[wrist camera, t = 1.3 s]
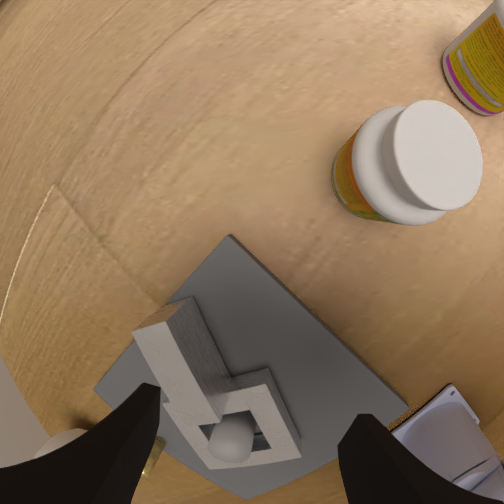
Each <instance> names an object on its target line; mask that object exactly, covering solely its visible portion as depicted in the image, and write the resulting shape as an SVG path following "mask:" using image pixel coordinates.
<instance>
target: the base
mask: <svg viewBox="0 0 504 504" xmlns="http://www.w3.org/2000/svg"><path fill="white" fill-rule="evenodd" d="M191 296H193V298H194V300H195V302H196V305H197V307H198V309H199V311H200V314H201V316H202V318H203V320H204V322H205V324H206V327H207V329H208V331H209V333H210V335H211V337H212V339H213V342H214V344H215V346H216V348H217V350H218V352H219V354H220V356H221V358H222V360H223V362H224V364H225V366H226V368H227V370H228V372H229V374H230V376H231V377H234V376H238V375H242V374H246V373H250V372H254V371H258V370H262V369H265V368H268V369H269V371H270V373H271V375H272V378H273V380H274V382H275V384H276V386H277V389H278V391H279V393H280V395H281V397H282V400H283V402H284V404H285V406H286V408H287V410H288V413H289V415H290V417H291V419H292V421H293V423H294V425H295V427H296V430H297V432H298V434H299V436H300V438H301V440H302V457H300V458H296V459H291V460H285V461H280V462H274V463H268V464H261V465H254V466H246V467H236V468H225V469H210V470H209V468H208V467H207V466H206V465H205V463H204V462H203V461H202V460H201V458H200V457H199V456H198V454H197V453H196V452H195V450H194V449H193V448H192V446H191V445H190V444H189V442H188V441H187V440H186V438H185V437H184V435H183V434H182V433H181V431H180V430H179V428H178V427H177V426H176V424H175V423H174V421H173V420H172V418H171V417H170V415H169V414H168V412H167V411H166V409H165V408H164V406H163V404H162V403H163V401H164V400H165V398H166V397H167V396H166V394H165V392H164V391H163V389H162V387H161V386H160V384H159V382H158V381H157V379H156V377H155V375H154V374H153V372H152V370H151V368H150V367H149V365H148V363H147V361H146V359H145V357H144V356H143V354H142V352H141V350H140V348H139V346H138V344H137V342H136V340H134V341H133V342H132V344H131V345H130V346H129V347H128V348H127V350H126V351H125V352H124V353H123V354H122V355H121V357H120V358H119V359H118V360H117V361H116V363H115V364H114V365H113V366H112V367H111V369H110V370H109V371H108V372H107V373H106V375H105V376H104V377H103V378H102V379H101V381H100V382H99V383H98V384H97V385H96V387H95V388H94V389H93V390H94V391H95V392H96V393H97V394H98V395H99V396H100V397H101V398H102V399H103V400H104V401H105V402H106V403H107V404H108V405H109V406H110V407H111V408H112V409H113V410H115V409H116V408H117V407H118V406H119V405H120V404H121V403H122V402H124V401H125V400H126V399H127V398H128V397H129V396H130V395H131V394H132V393H133V392H134V391H135V390H136V389H137V388H138V387H139V385H140V384H142V383H144V382H145V383H148V384H152V385H155V386H159V387H161V396H160V424H159V427H158V431H157V435H156V436H160V437H162V438H163V439H165V441H166V446H165V447H164V449H163V450H164V451H165V452H167V453H168V454H169V455H171V456H172V457H174V458H175V459H177V460H178V461H180V462H181V463H182V464H184V465H186V466H187V467H189V468H190V469H192V470H193V471H195V472H196V473H198V474H200V475H201V476H203V477H205V478H206V479H208V480H210V481H211V482H213V483H215V484H217V485H218V486H220V487H222V488H224V489H226V490H228V491H229V492H231V493H233V494H235V495H237V496H239V497H241V498H243V499H245V500H247V499H249V498H252V497H255V496H258V495H260V494H263V493H266V492H268V491H271V490H273V489H275V488H278V487H280V486H282V485H285V484H287V483H289V482H291V481H294V480H296V479H298V478H300V477H302V476H304V475H306V474H308V473H310V472H312V471H314V470H316V469H318V468H320V467H322V466H324V465H326V464H327V463H329V462H331V461H333V460H335V459H336V458H338V447H337V445H338V444H339V442H340V441H341V439H342V438H343V436H344V435H345V433H346V432H347V430H348V429H349V427H350V426H351V424H352V423H353V421H354V419H355V418H356V416H357V415H358V414H372V415H374V416H375V417H376V418H377V419H378V420H379V421H380V422H381V423H382V424H383V425H384V426H385V427H386V426H387V425H389V424H390V423H392V422H393V421H394V420H396V419H397V418H398V417H399V416H401V415H402V414H403V413H405V412H406V411H407V410H408V409H410V407H409V406H408V404H407V402H406V401H405V400H404V399H403V398H402V397H401V396H400V395H399V394H398V393H397V392H396V391H395V390H394V389H393V388H392V387H391V386H390V385H389V384H387V383H386V382H385V381H384V380H383V379H382V378H381V377H380V376H379V375H378V374H377V373H376V372H375V371H374V370H373V369H372V368H371V367H370V366H369V365H368V364H366V363H365V362H364V361H363V360H362V359H361V358H360V357H359V356H358V355H357V354H356V353H355V352H354V351H353V350H352V349H351V348H350V347H349V346H348V345H347V344H346V343H344V342H343V341H342V340H341V339H340V338H339V337H338V336H337V335H336V334H335V333H334V332H333V331H332V330H331V329H330V328H329V327H328V326H327V325H326V324H325V323H324V322H323V321H321V320H320V319H319V318H318V317H317V316H316V315H315V314H314V313H313V312H312V311H311V310H310V309H309V308H308V307H307V306H306V305H305V304H304V303H303V302H302V301H301V300H299V299H298V298H297V297H296V296H295V295H294V294H293V293H292V292H291V291H290V290H289V289H288V288H287V287H286V286H285V285H284V284H283V283H282V282H281V281H280V280H279V279H278V278H277V277H275V276H274V275H273V274H272V273H271V272H270V271H269V270H268V269H267V268H266V267H265V266H264V265H263V264H262V263H261V262H260V261H259V260H258V259H257V258H256V257H255V256H254V255H253V254H251V253H250V252H249V251H248V250H247V249H246V248H245V247H244V246H243V245H242V244H241V243H240V242H239V241H238V240H237V239H236V238H235V237H234V236H233V235H232V234H229V235H228V236H227V237H226V238H225V239H224V240H223V241H222V242H221V243H220V244H219V245H218V246H217V248H216V249H215V250H214V251H213V252H212V253H211V254H210V255H209V256H208V257H207V259H206V260H205V261H204V262H203V263H202V264H201V265H200V266H199V267H198V268H197V270H196V271H195V272H194V273H193V274H192V275H191V276H190V277H189V278H188V280H187V281H186V282H185V283H184V284H183V285H182V286H181V287H180V289H179V290H178V291H177V292H176V293H175V294H174V295H173V296H172V298H171V299H170V300H169V301H168V302H167V303H166V304H165V305H168V304H171V303H174V302H176V301H179V300H182V299H185V298H188V297H191ZM213 424H214V425H215V426H214V429H213V432H212V435H211V437H210V440H209V443H208V446H207V448H208V451H209V453H210V454H211V455H212V456H213V457H215V458H216V459H218V460H220V461H223V462H227V463H241V462H244V461H246V460H247V459H248V458H249V457H250V455H251V450H252V444H253V439H254V435H260V434H263V433H262V431H261V429H260V427H259V426H258V424H257V422H256V420H255V418H254V416H253V415H252V413H251V411H250V410H246V411H241V412H235V413H230V414H224V415H223V416H222V419H221V422H220V423H213Z"/></svg>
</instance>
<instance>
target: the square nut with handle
mask: <svg viewBox="0 0 504 504" xmlns="http://www.w3.org/2000/svg"><path fill="white" fill-rule="evenodd" d="M131 332H132V334H133V336H134V338H135V340H136V342H137V344H138V346H139V348H140V350H141V352H142V354H143V356H144V357H145V359H146V361H147V363H148V365H149V367H150V368H151V370H152V372H153V374H154V375H155V377H156V379H157V381H158V382H159V384H160V386H161V387H162V389H163V391H164V392H165V394H166V396H167V397H166V398H165V400H164V401H163V403H162V404H163V406H164V408H165V409H166V411H167V412H168V414H169V415H170V417H171V418H172V420H173V421H174V423H175V424H176V426H177V427H178V428H179V430H180V431H181V433H182V434H183V435H184V437H185V438H186V440H187V441H188V442H189V444H190V445H191V446H192V448H193V449H194V450H195V452H196V453H197V454H198V456H199V457H200V458H201V460H202V461H203V462H204V463H205V465H206V466H207V467H208V468H209V470H210V469H225V468H236V467H246V466H254V465H261V464H268V463H274V462H280V461H285V460H291V459H296V458H300V457H302V440H301V438H300V436H299V434H298V432H297V430H296V427H295V425H294V423H293V421H292V419H291V417H290V415H289V413H288V410H287V408H286V406H285V404H284V402H283V400H282V397H281V395H280V393H279V391H278V389H277V386H276V384H275V382H274V380H273V378H272V375H271V373H270V371H269V369H268V368H265V369H262V370H258V371H254V372H250V373H246V374H242V375H238V376H234V377H231V376H230V374H229V372H228V370H227V368H226V366H225V364H224V362H223V360H222V358H221V356H220V354H219V352H218V350H217V348H216V346H215V344H214V342H213V339H212V337H211V335H210V333H209V331H208V329H207V327H206V324H205V322H204V320H203V318H202V316H201V314H200V311H199V309H198V307H197V305H196V302H195V300H194V298H193V296H191V297H188V298H185V299H182V300H179V301H176V302H174V303H171V304H168V305H165V306H163V307H161V308H160V309H159V310H157V311H156V312H155V313H154V314H152V315H151V316H150V317H149V318H147V319H146V320H145V321H144V322H142V323H141V324H140V325H139V326H138V327H136V328H135V329H134V330H133V331H131ZM246 410H250V411H251V413H252V415H253V416H254V418H255V420H256V422H257V424H258V426H259V427H260V429H261V431H262V433H263V434H260V435H254V439H253V444H252V450H251V455H250V457H249V458H248V459H247V460H246V461H244V462H241V463H227V462H223V461H220V460H218V459H216V458H215V457H213V456H212V455H211V454H210V453H209V451H208V448H207V446H208V443H209V440H210V437H211V435H212V432H213V429H214V426H215V425H214V424H213V423H220V422H221V419H222V416H223V415H224V414H230V413H235V412H241V411H246Z"/></svg>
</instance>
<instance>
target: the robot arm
mask: <svg viewBox="0 0 504 504" xmlns="http://www.w3.org/2000/svg"><path fill="white" fill-rule="evenodd" d="M452 391H453V392H452ZM451 392H452V393H451ZM160 396H161V387H159V386H155V385H152V384H148V383H145V382H144V383H142V384H140V385H139V387H138V388H137V389H136V390H135V391H134V392H133V393H132V394H131V395H130V396H129V397H128V398H127V399H126V400H125V401H124V402H122V403H121V404H120V405H119V406H118V407H117V408H116V409H115V410H113V411H112V412H111V413H110V414H109V415H108V416H106V417H105V418H104V419H103V420H102V421H100V422H99V423H97V424H96V425H95V426H93V427H92V428H91V429H89V430H88V431H87V432H85V433H84V434H82V435H81V436H79V437H77V438H76V439H74V440H73V441H71V442H69V443H67V444H66V445H64V446H62V447H60V448H58V449H56V450H54V451H52V452H50V453H47V454H45V455H43V456H40V457H38V458H35V459H32V460H29V461H26V462H23V463H20V464H17V465H13V466H10V467H4V468H0V504H131V501H132V497H133V495H134V492H135V489H136V487H137V484H138V482H139V479H140V477H141V475H142V472H143V470H144V467H145V465H146V463H147V460H148V458H149V455H150V453H151V450H152V448H153V445H154V442H155V438H156V435H157V431H158V427H159V424H160ZM479 422H480V420H479V419H478V418H477V416H476V415H475V413H474V412H473V411H472V409H471V408H470V407H469V405H468V404H467V402H466V401H465V400H464V398H463V397H462V396H461V394H460V393H459V392H458V390H457V389H456V388H455V386H454V385H453V384H450V385H448V386H447V387H446V388H445V389H444V390H443V391H442V392H441V393H439V394H438V395H437V396H436V397H435V398H434V399H433V400H432V401H430V402H429V403H428V404H427V405H426V406H424V407H423V408H422V409H421V410H420V411H418V412H417V413H416V414H415V415H413V416H412V417H411V418H410V419H408V420H407V421H406V422H404V423H403V424H402V425H401V426H399V427H398V428H396V429H395V430H394V431H392V432H390V431H389V430H388V429H387V428H386V427H385V426H384V425H383V424H382V423H381V422H380V421H379V420H378V419H377V418H376V417H375V416H374V415H372V414H358V415H357V416H356V418H355V419H354V421H353V423H352V424H351V426H350V427H349V429H348V430H347V432H346V433H345V435H344V436H343V438H342V439H341V441H340V442H339V444H338V445H337V447H338V459H339V467H340V471H341V475H342V479H343V483H344V487H345V491H346V494H347V498H348V502H349V504H504V458H503V459H501V458H500V457H499V455H498V454H497V452H496V451H495V449H494V448H493V446H492V445H491V443H490V442H489V440H488V439H487V437H486V436H485V435H484V433H483V432H482V430H481V429H480V427H479V426H478V424H479Z"/></svg>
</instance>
